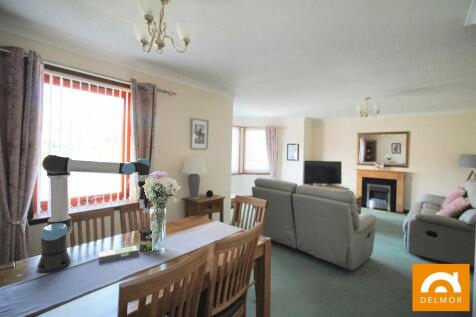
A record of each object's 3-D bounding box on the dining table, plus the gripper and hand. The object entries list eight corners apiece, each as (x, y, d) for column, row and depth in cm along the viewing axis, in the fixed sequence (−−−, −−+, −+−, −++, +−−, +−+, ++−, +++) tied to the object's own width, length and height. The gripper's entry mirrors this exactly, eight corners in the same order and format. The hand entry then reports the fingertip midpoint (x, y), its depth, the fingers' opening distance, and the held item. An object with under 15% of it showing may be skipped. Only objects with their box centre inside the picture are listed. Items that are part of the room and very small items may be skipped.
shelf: (98, 263, 141) (98, 257, 141) (98, 255, 152) (98, 250, 152) (138, 255, 153) (138, 250, 152) (135, 248, 163) (135, 243, 163)
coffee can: (157, 249, 162) (158, 229, 162) (143, 254, 154) (144, 233, 153) (149, 245, 168) (149, 226, 168) (135, 250, 160) (135, 229, 160)
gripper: (153, 182, 160) (153, 213, 160) (145, 178, 181) (145, 206, 181) (141, 183, 156) (141, 215, 156) (135, 179, 177) (135, 207, 177)
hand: (143, 210), depth 169 cm, fingers open, 13 cm apart
